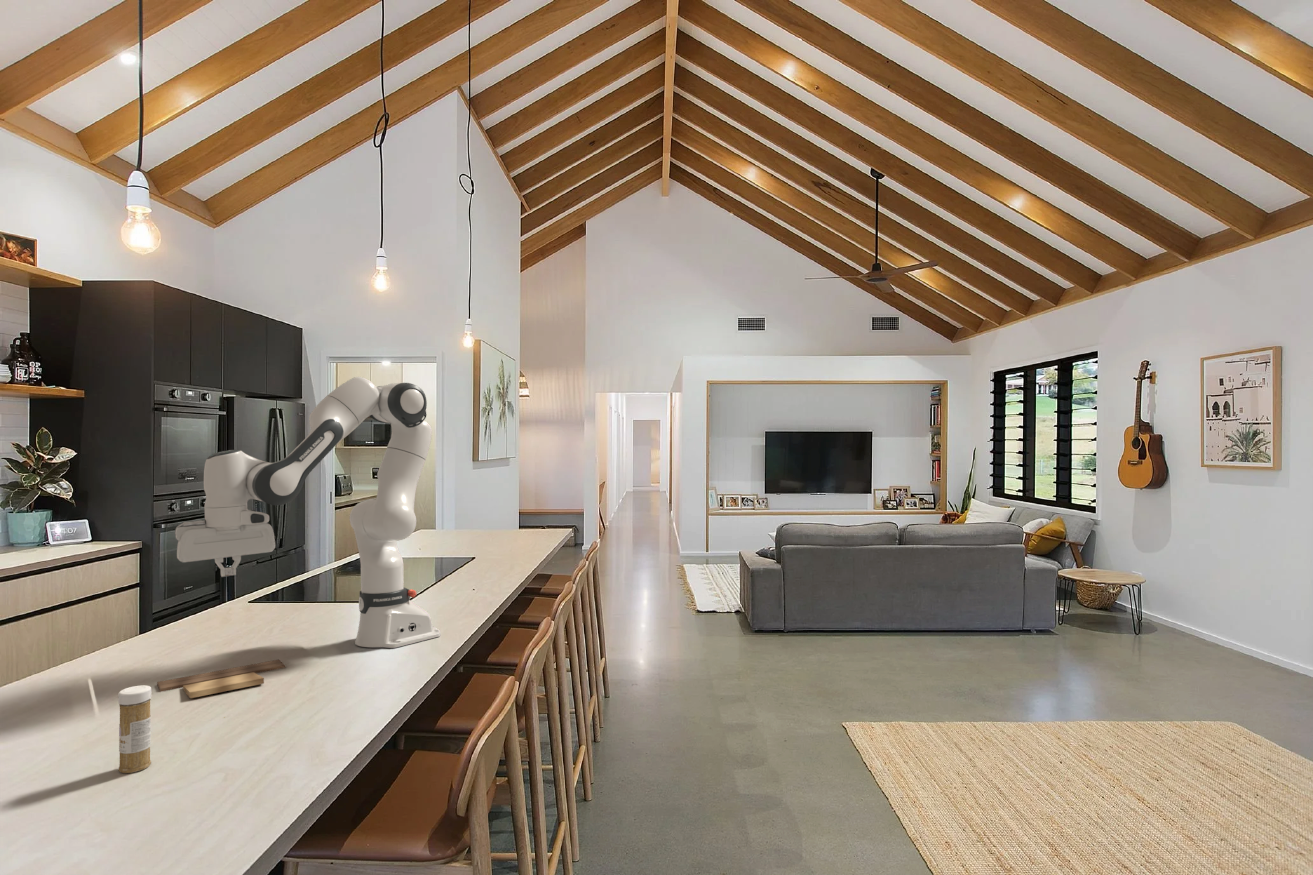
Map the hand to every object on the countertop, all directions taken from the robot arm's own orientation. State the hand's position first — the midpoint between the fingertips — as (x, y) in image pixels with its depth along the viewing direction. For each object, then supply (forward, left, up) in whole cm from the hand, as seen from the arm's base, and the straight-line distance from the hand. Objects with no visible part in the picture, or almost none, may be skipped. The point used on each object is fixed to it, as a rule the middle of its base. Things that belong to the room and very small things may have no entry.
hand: (228, 575), depth 172 cm
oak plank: (+3, +13, -23) cm, 26 cm away
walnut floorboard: (+2, +4, -23) cm, 24 cm away
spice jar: (+22, +47, -24) cm, 57 cm away
